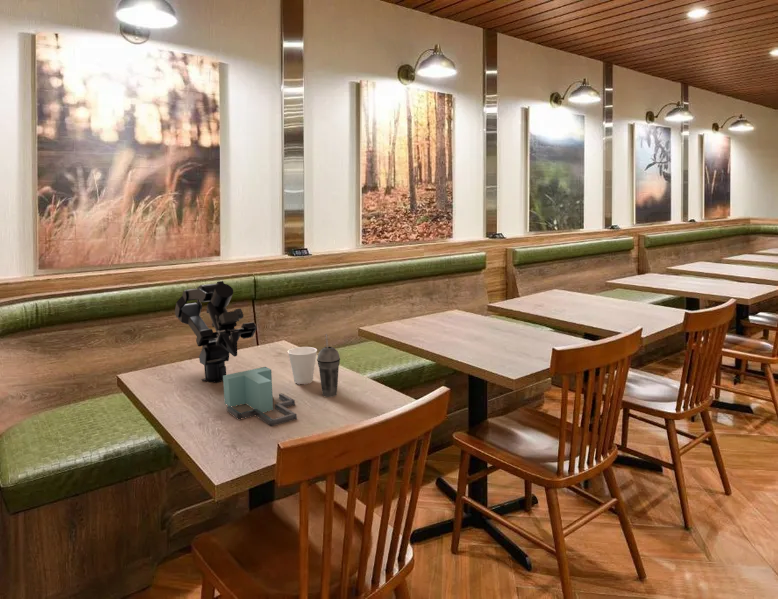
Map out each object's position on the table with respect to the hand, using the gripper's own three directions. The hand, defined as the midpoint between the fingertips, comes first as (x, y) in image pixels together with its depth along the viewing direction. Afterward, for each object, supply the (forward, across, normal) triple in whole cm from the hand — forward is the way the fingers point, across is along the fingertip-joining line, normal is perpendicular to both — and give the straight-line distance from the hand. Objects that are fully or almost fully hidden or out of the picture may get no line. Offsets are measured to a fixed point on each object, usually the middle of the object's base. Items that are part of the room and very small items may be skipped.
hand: (235, 355), depth 183 cm
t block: (+18, 0, 0) cm, 18 cm away
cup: (+12, +22, +6) cm, 26 cm away
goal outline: (+24, 0, -6) cm, 25 cm away
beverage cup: (+23, +22, -5) cm, 32 cm away
